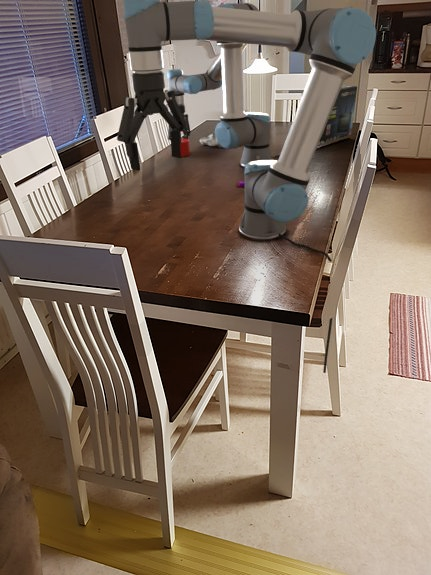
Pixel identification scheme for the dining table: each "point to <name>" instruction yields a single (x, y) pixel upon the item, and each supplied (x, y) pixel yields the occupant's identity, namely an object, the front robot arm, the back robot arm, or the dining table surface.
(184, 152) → the tin
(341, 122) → the router box
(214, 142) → the fossil
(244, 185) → the handgun
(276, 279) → the dining table surface
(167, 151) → the dining table surface
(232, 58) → the back robot arm
